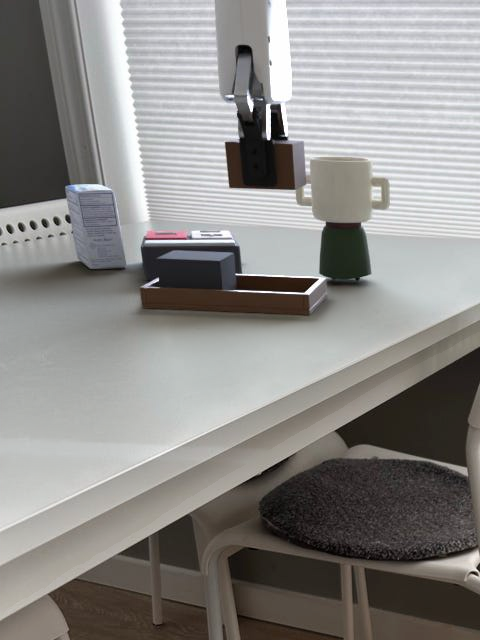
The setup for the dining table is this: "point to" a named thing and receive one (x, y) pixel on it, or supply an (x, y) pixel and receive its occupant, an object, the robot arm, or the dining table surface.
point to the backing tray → (242, 295)
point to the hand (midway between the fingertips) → (267, 180)
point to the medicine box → (95, 226)
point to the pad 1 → (197, 270)
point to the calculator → (185, 246)
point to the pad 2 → (287, 165)
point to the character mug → (343, 212)
